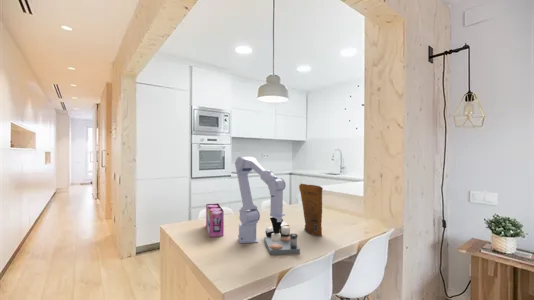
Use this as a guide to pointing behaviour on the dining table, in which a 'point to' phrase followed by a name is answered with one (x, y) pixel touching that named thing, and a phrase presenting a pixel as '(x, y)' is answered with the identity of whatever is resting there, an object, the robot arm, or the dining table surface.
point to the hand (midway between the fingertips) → (276, 233)
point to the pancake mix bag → (312, 208)
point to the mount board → (280, 246)
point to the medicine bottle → (270, 230)
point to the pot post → (293, 241)
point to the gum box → (214, 220)
